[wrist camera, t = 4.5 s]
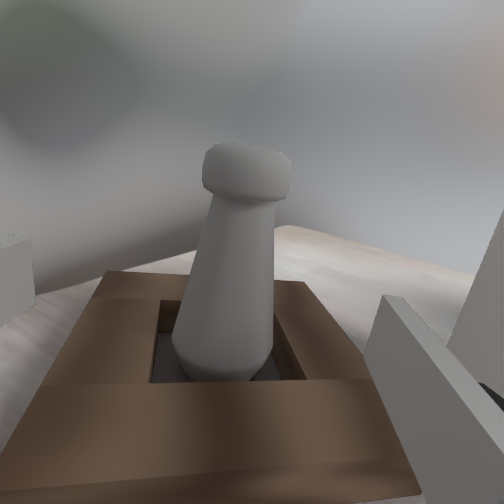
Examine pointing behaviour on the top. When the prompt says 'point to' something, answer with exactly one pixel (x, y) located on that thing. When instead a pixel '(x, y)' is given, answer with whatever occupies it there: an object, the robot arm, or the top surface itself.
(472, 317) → the milk
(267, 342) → the salt shaker
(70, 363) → the socket block
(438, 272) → the top surface
